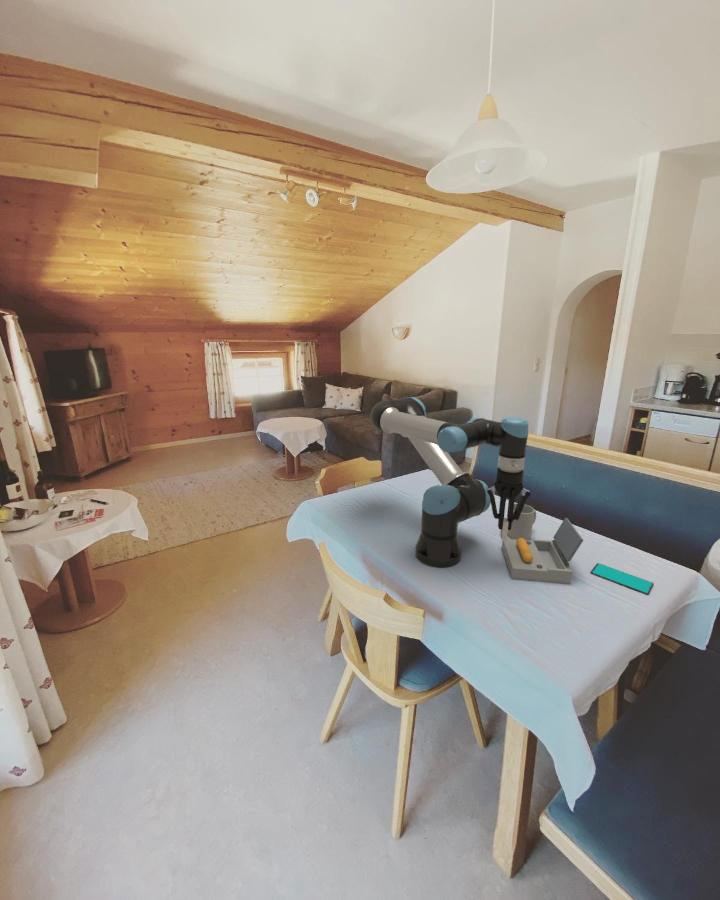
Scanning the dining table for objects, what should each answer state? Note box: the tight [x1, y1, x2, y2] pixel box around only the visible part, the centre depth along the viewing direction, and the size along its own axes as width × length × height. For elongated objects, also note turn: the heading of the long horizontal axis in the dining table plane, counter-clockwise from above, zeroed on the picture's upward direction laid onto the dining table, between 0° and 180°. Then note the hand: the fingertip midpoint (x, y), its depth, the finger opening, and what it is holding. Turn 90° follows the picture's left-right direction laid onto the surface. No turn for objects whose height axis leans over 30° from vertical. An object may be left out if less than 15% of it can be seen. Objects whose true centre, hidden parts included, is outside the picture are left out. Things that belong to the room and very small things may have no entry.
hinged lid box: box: [501, 538, 573, 585], centre depth 126 cm, size 17×18×4 cm
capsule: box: [516, 538, 533, 562], centre depth 125 cm, size 3×12×3 cm, turn 170°
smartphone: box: [590, 562, 654, 596], centre depth 119 cm, size 7×1×15 cm
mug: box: [507, 503, 537, 541], centre depth 144 cm, size 12×8×11 cm
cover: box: [551, 517, 584, 567], centre depth 122 cm, size 10×14×1 cm
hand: (503, 538), depth 125 cm, fingers closed
